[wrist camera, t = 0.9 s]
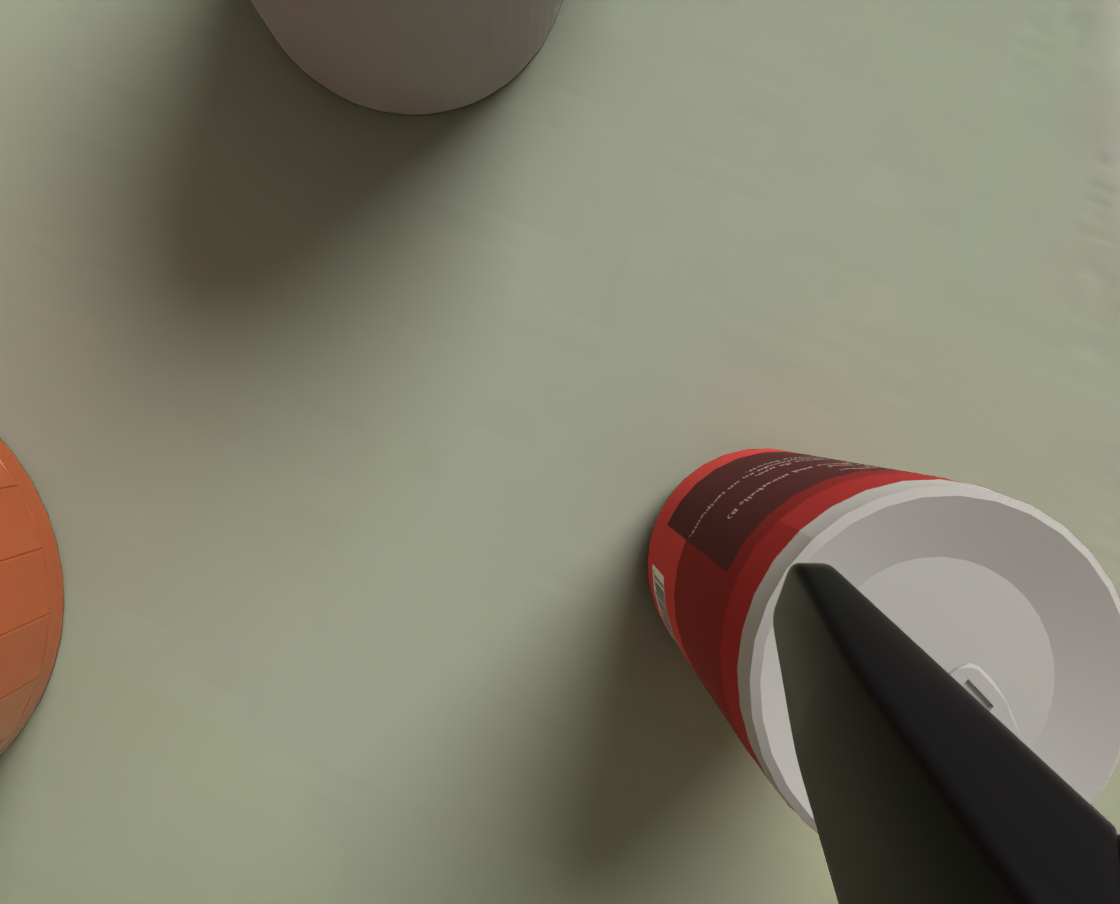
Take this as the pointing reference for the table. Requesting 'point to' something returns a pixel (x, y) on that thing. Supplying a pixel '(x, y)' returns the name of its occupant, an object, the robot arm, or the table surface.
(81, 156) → the table surface
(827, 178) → the table surface
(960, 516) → the canned food
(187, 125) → the table surface
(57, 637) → the bucket
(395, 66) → the coffee mug
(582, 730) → the table surface
